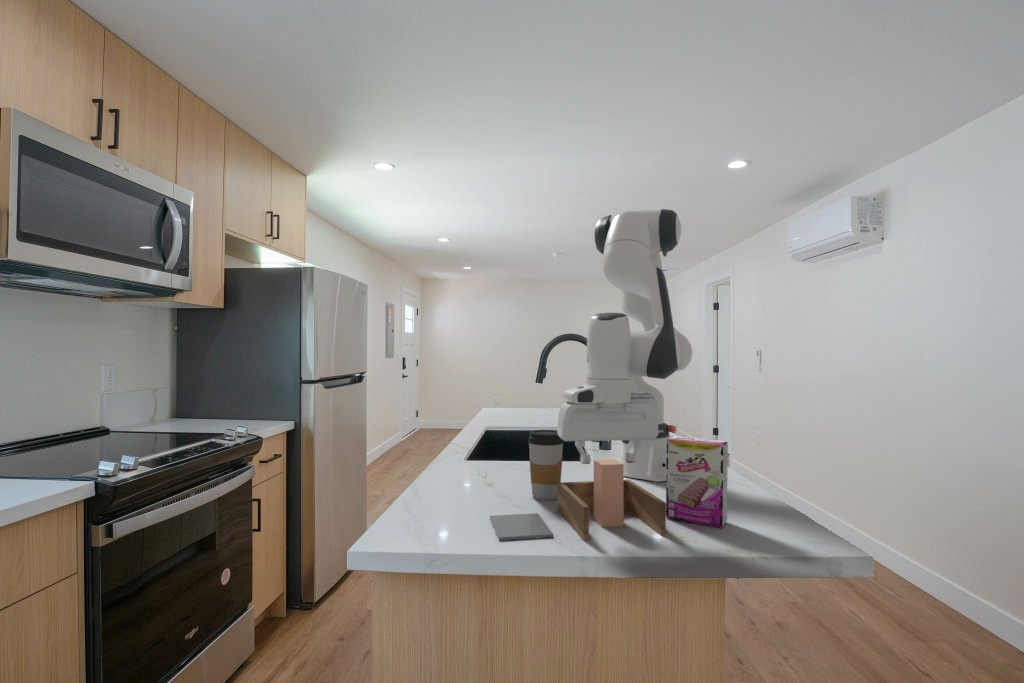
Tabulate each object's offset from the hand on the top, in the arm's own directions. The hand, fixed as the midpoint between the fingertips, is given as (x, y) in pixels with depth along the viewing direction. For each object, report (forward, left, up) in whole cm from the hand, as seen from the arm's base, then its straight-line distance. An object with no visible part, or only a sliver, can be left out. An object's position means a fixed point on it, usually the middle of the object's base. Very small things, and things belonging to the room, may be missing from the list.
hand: (607, 462), depth 103 cm
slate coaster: (+18, 0, -12) cm, 21 cm away
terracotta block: (0, 0, -12) cm, 12 cm away
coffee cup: (+8, -19, -12) cm, 24 cm away
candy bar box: (-18, +2, -12) cm, 22 cm away
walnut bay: (0, 0, -12) cm, 12 cm away
